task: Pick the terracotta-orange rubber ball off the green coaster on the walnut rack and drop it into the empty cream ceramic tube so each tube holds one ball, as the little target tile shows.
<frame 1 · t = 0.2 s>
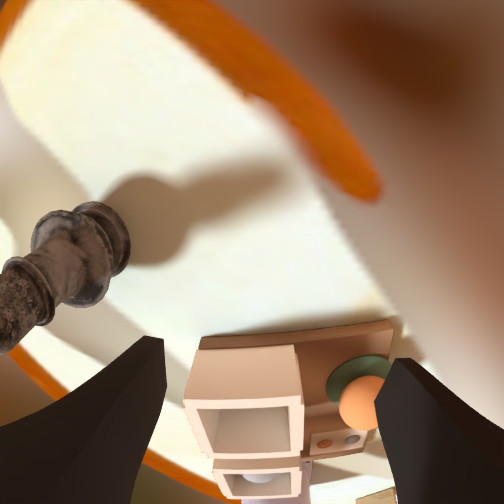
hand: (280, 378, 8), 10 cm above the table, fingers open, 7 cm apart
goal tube: (250, 372, 21), resting on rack
orange ball: (360, 383, 19), point 1 cm above the table, touching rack
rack: (298, 406, 22), on the table
grey ball: (260, 444, 23), point 1 cm above the table, touching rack
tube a: (260, 434, 24), resting on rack
skincare box: (374, 495, 31), on the table
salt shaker: (96, 240, 18), on the table
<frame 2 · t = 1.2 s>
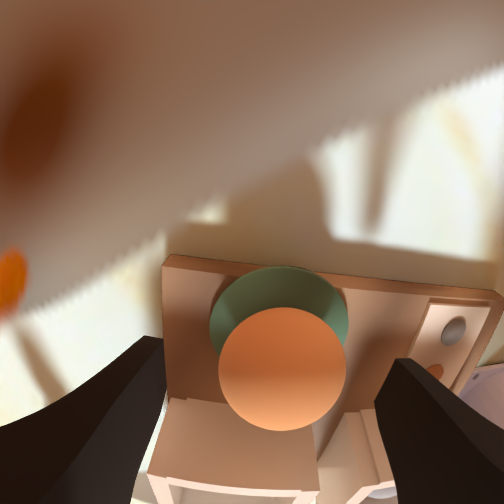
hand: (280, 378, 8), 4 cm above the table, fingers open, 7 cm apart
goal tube: (236, 425, 15), resting on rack
orange ball: (279, 333, 11), point 1 cm above the table, touching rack
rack: (330, 391, 14), on the table
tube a: (374, 427, 15), resting on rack
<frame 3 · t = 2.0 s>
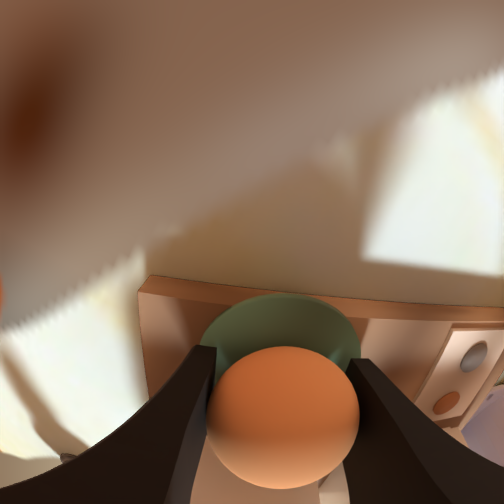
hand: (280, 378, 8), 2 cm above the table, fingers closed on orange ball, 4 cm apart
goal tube: (232, 453, 13), resting on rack
orange ball: (279, 370, 9), point 1 cm above the table, touching gripper, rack
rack: (335, 420, 12), on the table
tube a: (380, 451, 13), resting on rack
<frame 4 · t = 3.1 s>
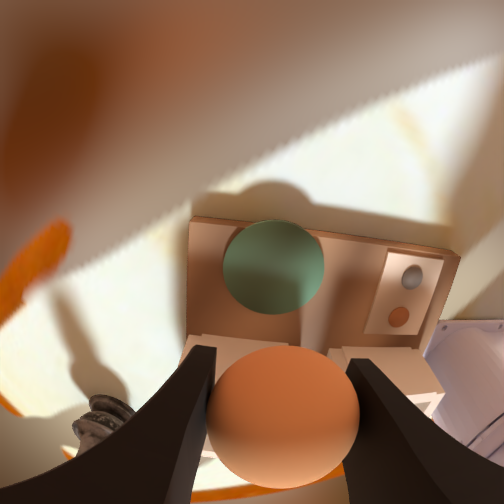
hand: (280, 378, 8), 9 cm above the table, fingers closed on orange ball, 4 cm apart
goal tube: (241, 366, 19), resting on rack
orange ball: (279, 369, 9), point 8 cm above the table, touching gripper
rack: (317, 331, 18), on the table
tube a: (358, 373, 19), resting on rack
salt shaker: (115, 412, 23), on the table
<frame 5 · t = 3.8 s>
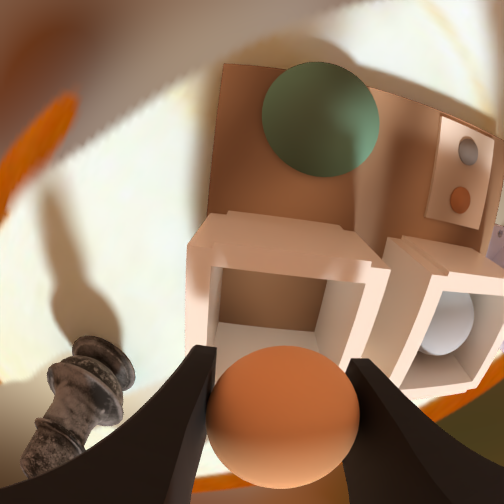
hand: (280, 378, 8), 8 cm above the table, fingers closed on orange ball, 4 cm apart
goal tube: (273, 274, 16), resting on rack
orange ball: (279, 369, 9), point 7 cm above the table, touching gripper
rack: (369, 221, 14), on the table
grey ball: (422, 298, 15), point 1 cm above the table, touching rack
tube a: (414, 289, 16), resting on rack
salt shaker: (103, 363, 19), on the table
when the fingers open (7 cm above the table, at t = 4.3 s): orange ball drops 5 cm, resting on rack.
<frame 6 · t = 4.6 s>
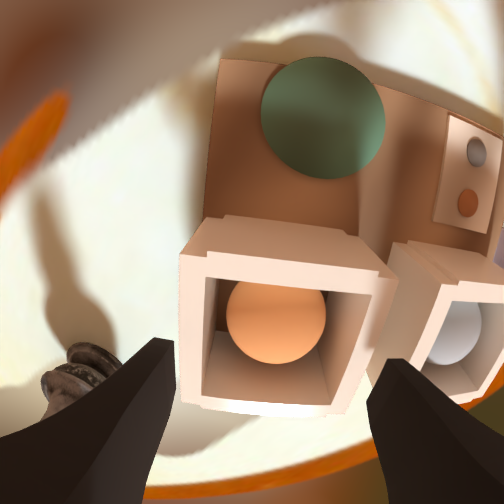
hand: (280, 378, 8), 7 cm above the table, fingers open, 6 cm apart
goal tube: (273, 281, 15), resting on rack
orange ball: (274, 291, 14), point 1 cm above the table, touching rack
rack: (373, 225, 14), on the table
grey ball: (428, 305, 14), point 1 cm above the table, touching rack
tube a: (418, 295, 15), resting on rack
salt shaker: (98, 370, 18), on the table
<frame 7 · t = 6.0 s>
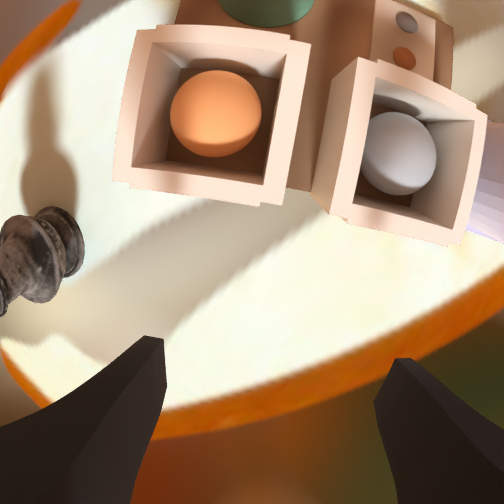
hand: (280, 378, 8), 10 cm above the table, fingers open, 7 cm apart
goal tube: (223, 119, 15), resting on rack
orange ball: (221, 117, 14), point 1 cm above the table, touching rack
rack: (316, 75, 14), on the table
grey ball: (380, 151, 14), point 1 cm above the table, touching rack
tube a: (373, 151, 15), resting on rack
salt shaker: (57, 242, 18), on the table
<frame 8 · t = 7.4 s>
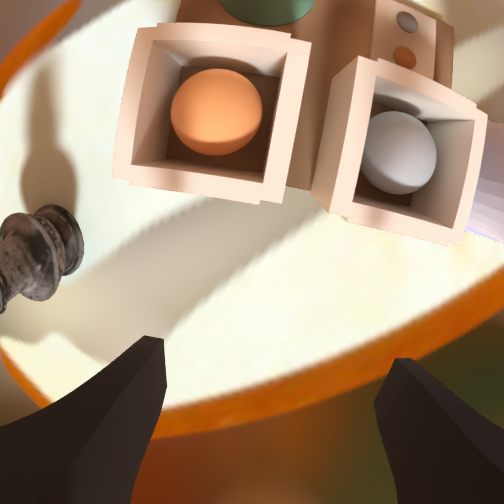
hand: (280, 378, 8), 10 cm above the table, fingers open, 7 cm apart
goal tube: (223, 118, 15), resting on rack
orange ball: (221, 115, 14), point 1 cm above the table, touching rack
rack: (316, 74, 14), on the table
grey ball: (381, 151, 14), point 1 cm above the table, touching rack
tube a: (373, 150, 15), resting on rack
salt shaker: (56, 240, 18), on the table
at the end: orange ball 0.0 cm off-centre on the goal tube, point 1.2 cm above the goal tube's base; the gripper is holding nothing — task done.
